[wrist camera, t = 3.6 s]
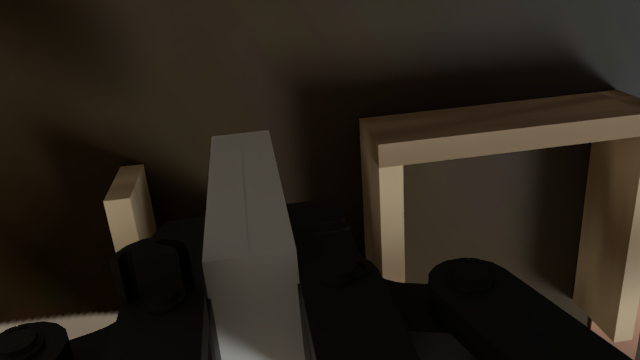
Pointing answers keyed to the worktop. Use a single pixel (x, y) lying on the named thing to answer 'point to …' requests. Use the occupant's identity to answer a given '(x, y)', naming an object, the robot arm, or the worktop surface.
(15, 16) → the worktop surface
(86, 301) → the worktop surface
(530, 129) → the tray
